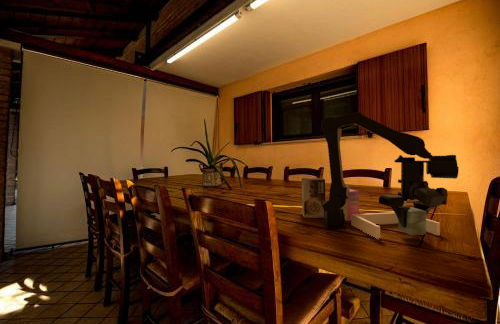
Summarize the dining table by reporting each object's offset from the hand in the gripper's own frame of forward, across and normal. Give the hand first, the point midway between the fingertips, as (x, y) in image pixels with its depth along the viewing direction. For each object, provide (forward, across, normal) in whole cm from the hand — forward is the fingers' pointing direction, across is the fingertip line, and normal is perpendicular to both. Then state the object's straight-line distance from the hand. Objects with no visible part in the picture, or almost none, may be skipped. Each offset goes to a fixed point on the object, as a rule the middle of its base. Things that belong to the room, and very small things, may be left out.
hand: (411, 226), depth 70 cm
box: (+4, -8, +25) cm, 26 cm away
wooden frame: (+4, 0, +9) cm, 10 cm away
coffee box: (+4, -20, +29) cm, 35 cm away
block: (+2, 0, 0) cm, 2 cm away
